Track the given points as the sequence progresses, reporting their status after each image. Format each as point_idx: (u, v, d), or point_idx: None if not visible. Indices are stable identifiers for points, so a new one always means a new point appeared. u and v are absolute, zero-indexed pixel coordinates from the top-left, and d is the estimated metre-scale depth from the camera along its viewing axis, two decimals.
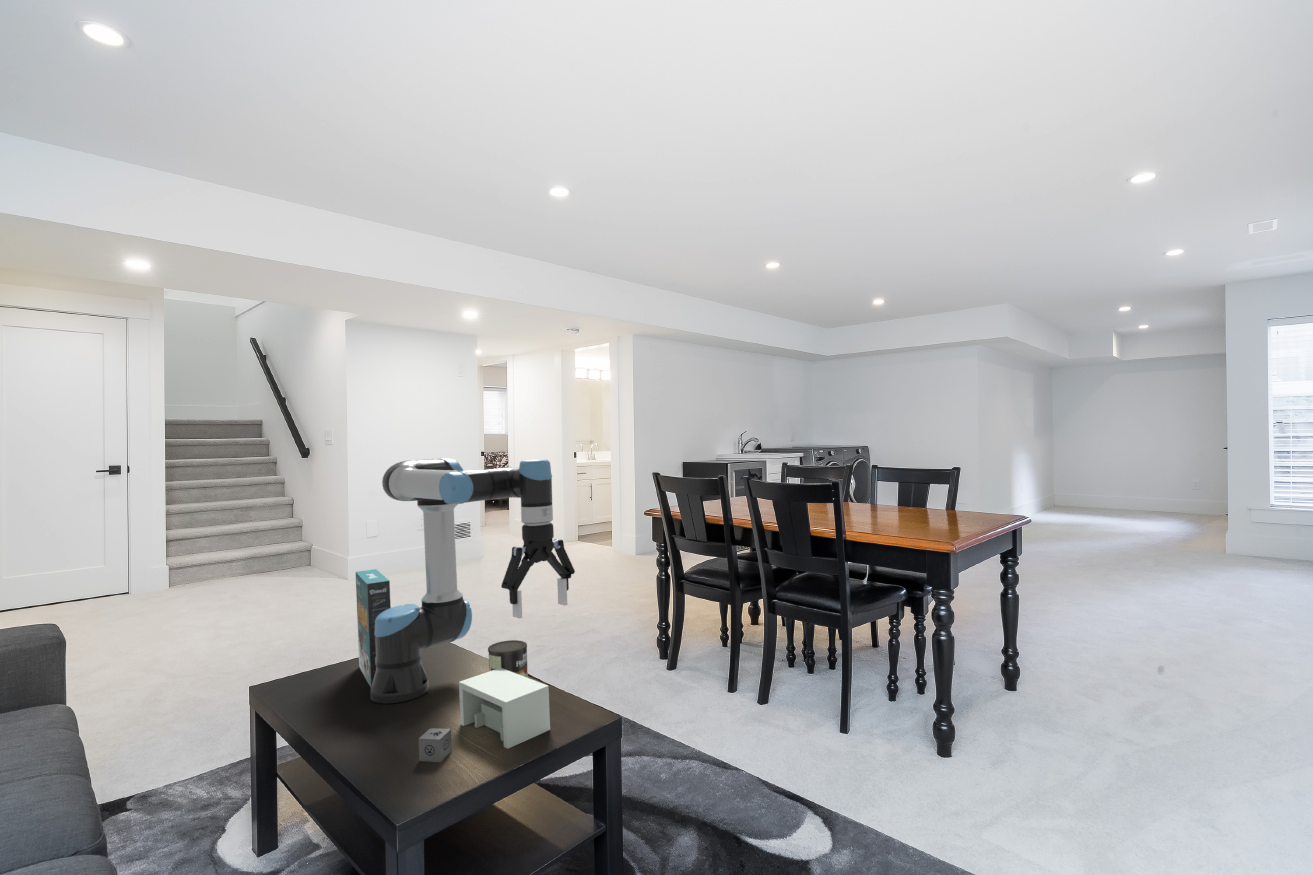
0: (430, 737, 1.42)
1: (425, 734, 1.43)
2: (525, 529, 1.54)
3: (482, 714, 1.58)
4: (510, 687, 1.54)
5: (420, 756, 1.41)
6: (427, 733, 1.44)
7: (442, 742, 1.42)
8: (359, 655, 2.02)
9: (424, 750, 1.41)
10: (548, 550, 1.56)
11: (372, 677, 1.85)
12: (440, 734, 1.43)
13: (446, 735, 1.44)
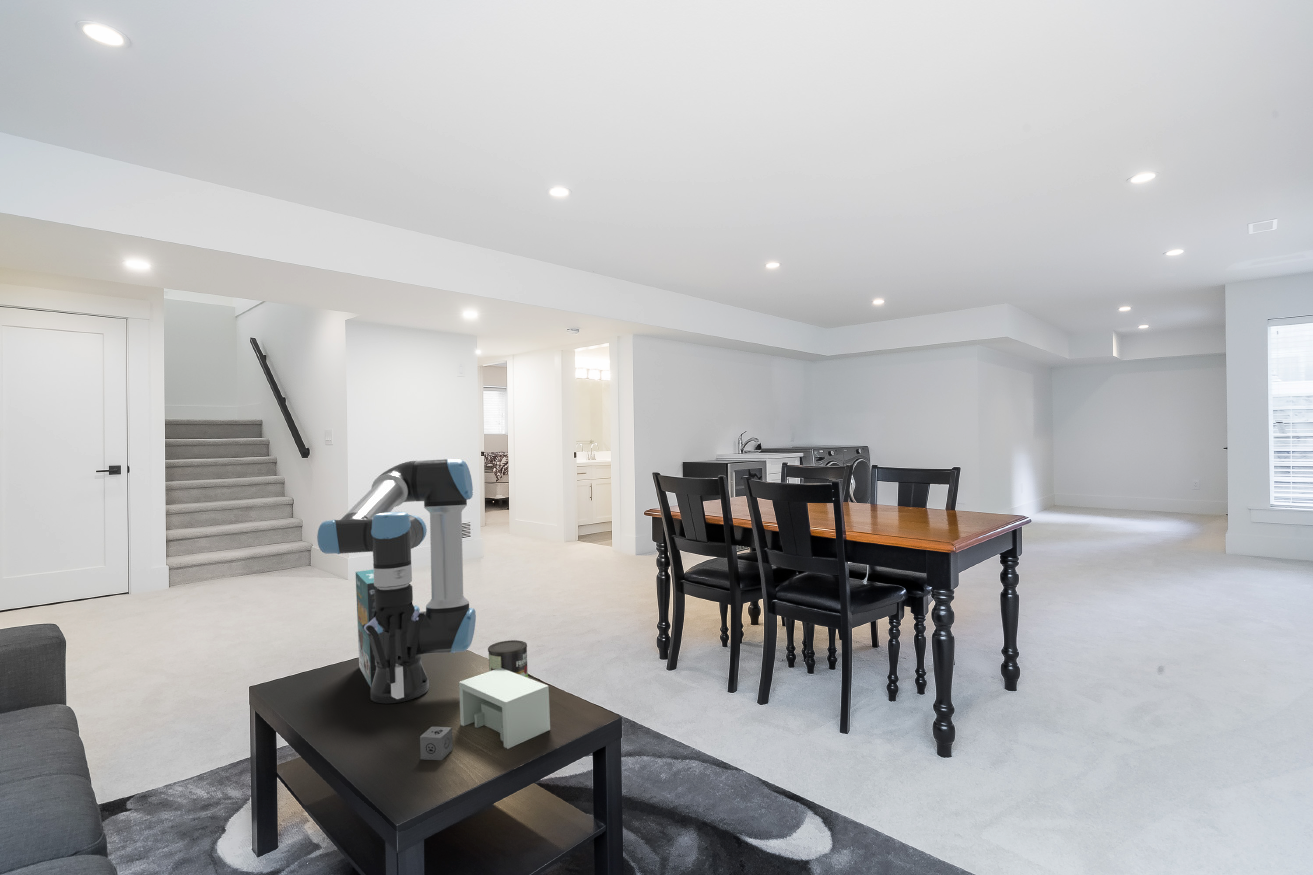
0: (431, 735, 1.43)
1: (426, 732, 1.44)
2: (376, 593, 1.34)
3: (482, 714, 1.58)
4: (510, 687, 1.54)
5: (421, 754, 1.42)
6: (428, 731, 1.45)
7: (443, 740, 1.43)
8: (359, 655, 2.02)
9: (425, 748, 1.42)
10: (405, 616, 1.37)
11: (372, 677, 1.85)
12: (441, 733, 1.44)
13: (447, 733, 1.44)
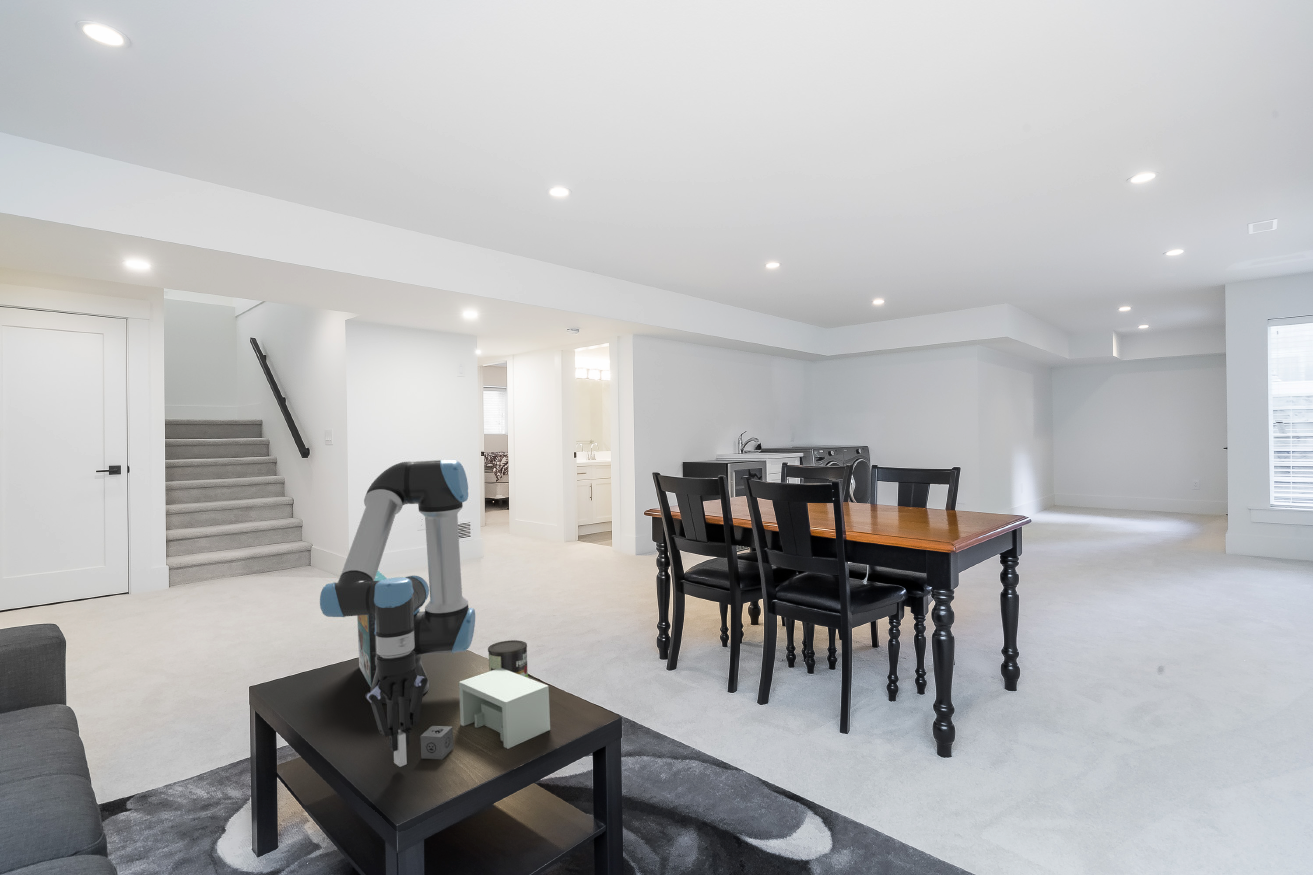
0: (432, 734, 1.43)
1: (427, 732, 1.45)
2: (379, 662, 1.35)
3: (482, 714, 1.58)
4: (510, 687, 1.54)
5: (422, 753, 1.43)
6: (429, 731, 1.45)
7: (444, 739, 1.43)
8: (359, 655, 2.02)
9: (426, 747, 1.43)
10: (408, 683, 1.37)
11: (372, 677, 1.85)
12: (441, 732, 1.44)
13: (448, 733, 1.45)
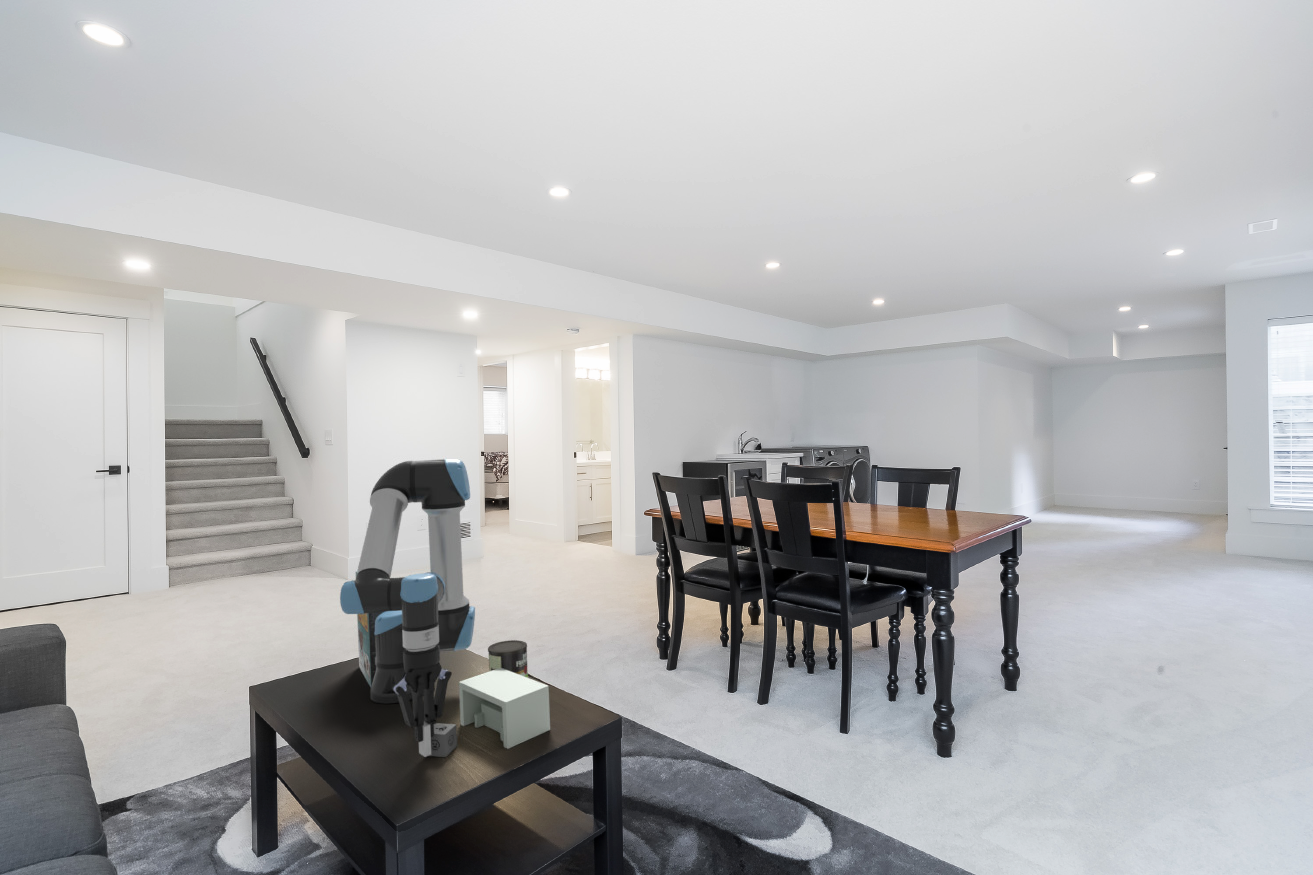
0: (435, 732, 1.44)
1: None
2: (405, 655, 1.39)
3: (482, 714, 1.58)
4: (510, 687, 1.54)
5: None
6: None
7: (447, 737, 1.44)
8: (359, 655, 2.02)
9: None
10: (433, 676, 1.41)
11: (372, 677, 1.85)
12: (445, 729, 1.45)
13: (451, 730, 1.46)
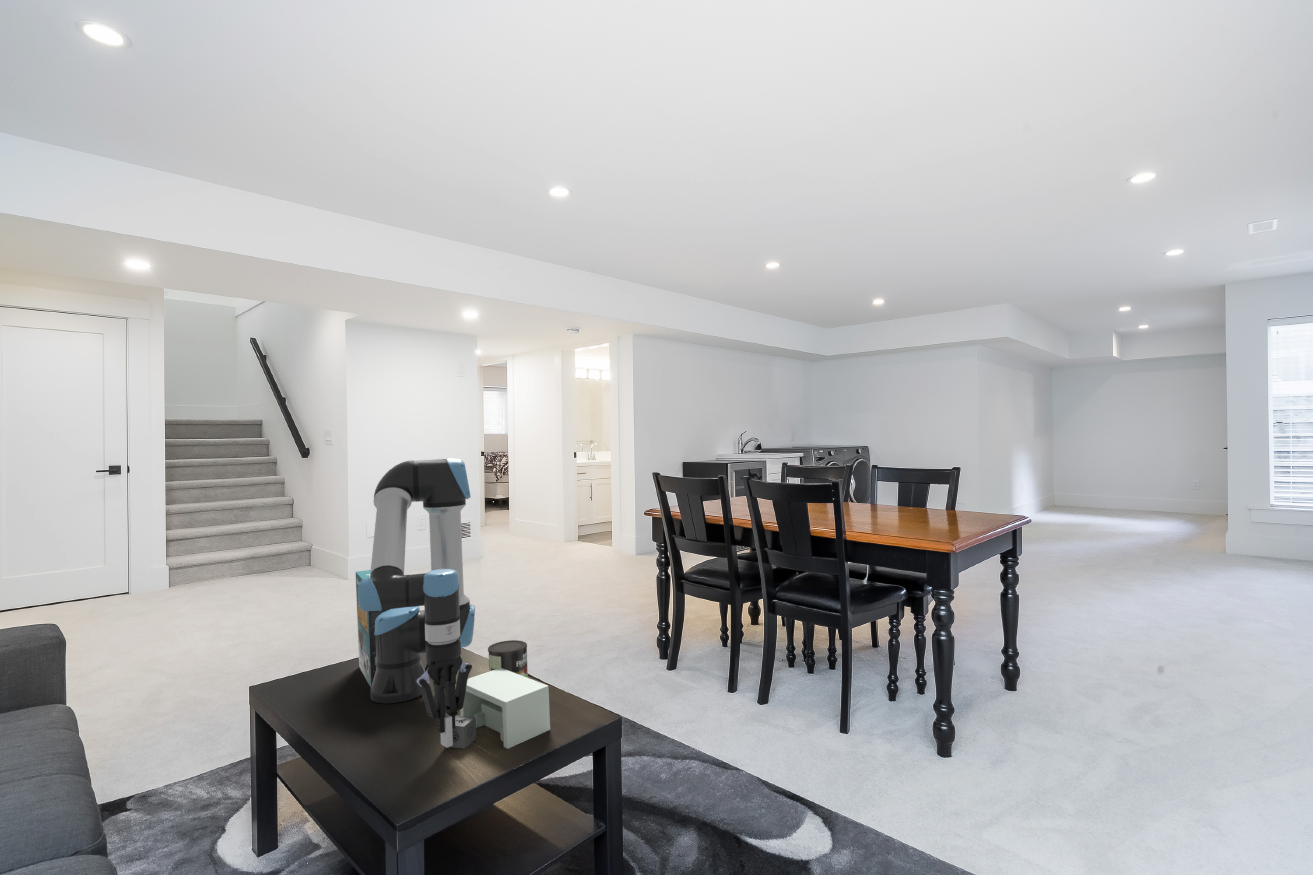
0: (455, 724, 1.48)
1: None
2: (428, 648, 1.43)
3: (482, 714, 1.58)
4: (510, 687, 1.54)
5: None
6: None
7: (466, 729, 1.47)
8: (359, 655, 2.02)
9: None
10: (454, 669, 1.45)
11: (372, 677, 1.85)
12: (464, 722, 1.48)
13: (470, 723, 1.49)
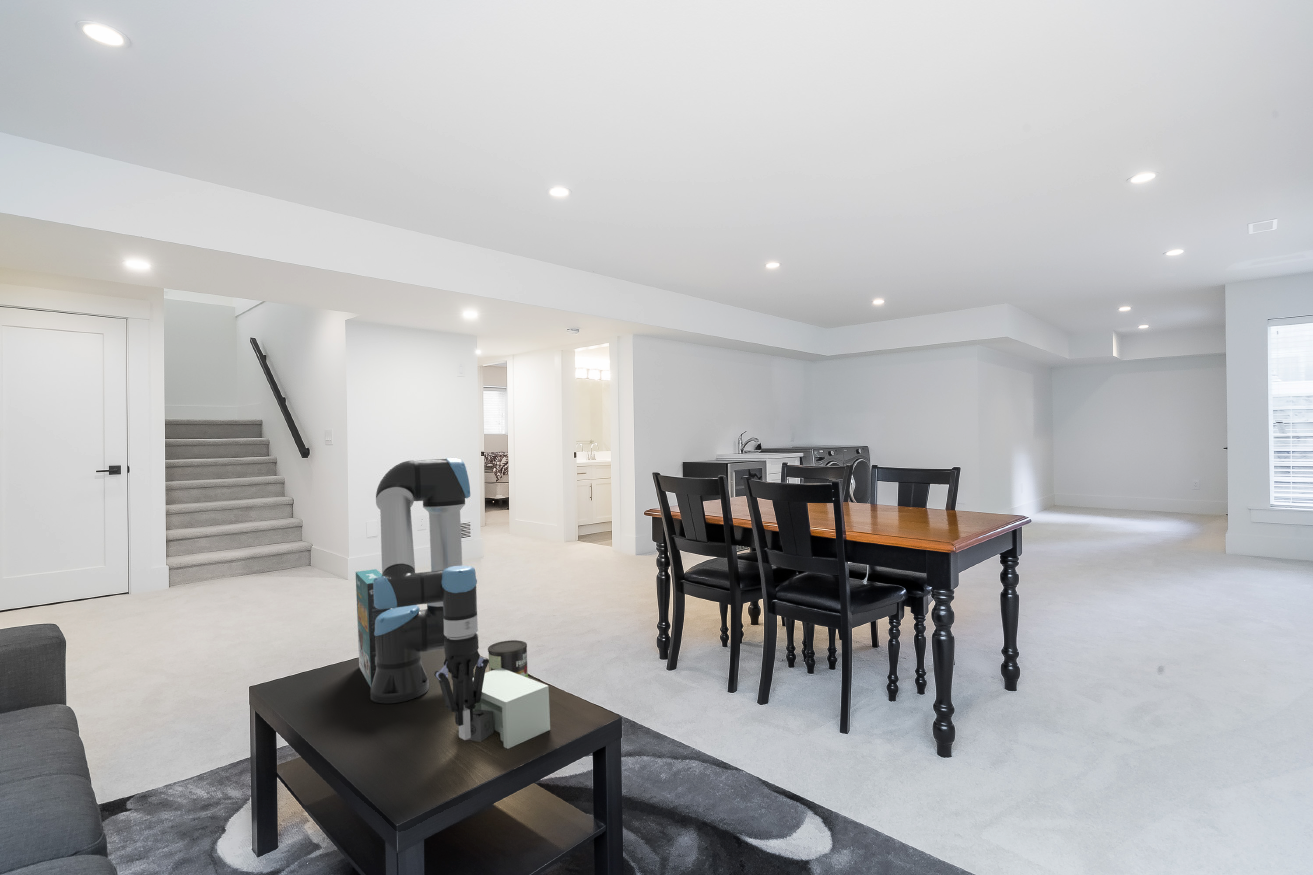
0: None
1: None
2: (446, 643, 1.46)
3: None
4: (510, 687, 1.54)
5: None
6: None
7: (483, 723, 1.50)
8: (359, 655, 2.02)
9: None
10: (472, 663, 1.48)
11: (372, 677, 1.85)
12: (481, 715, 1.52)
13: (487, 717, 1.52)
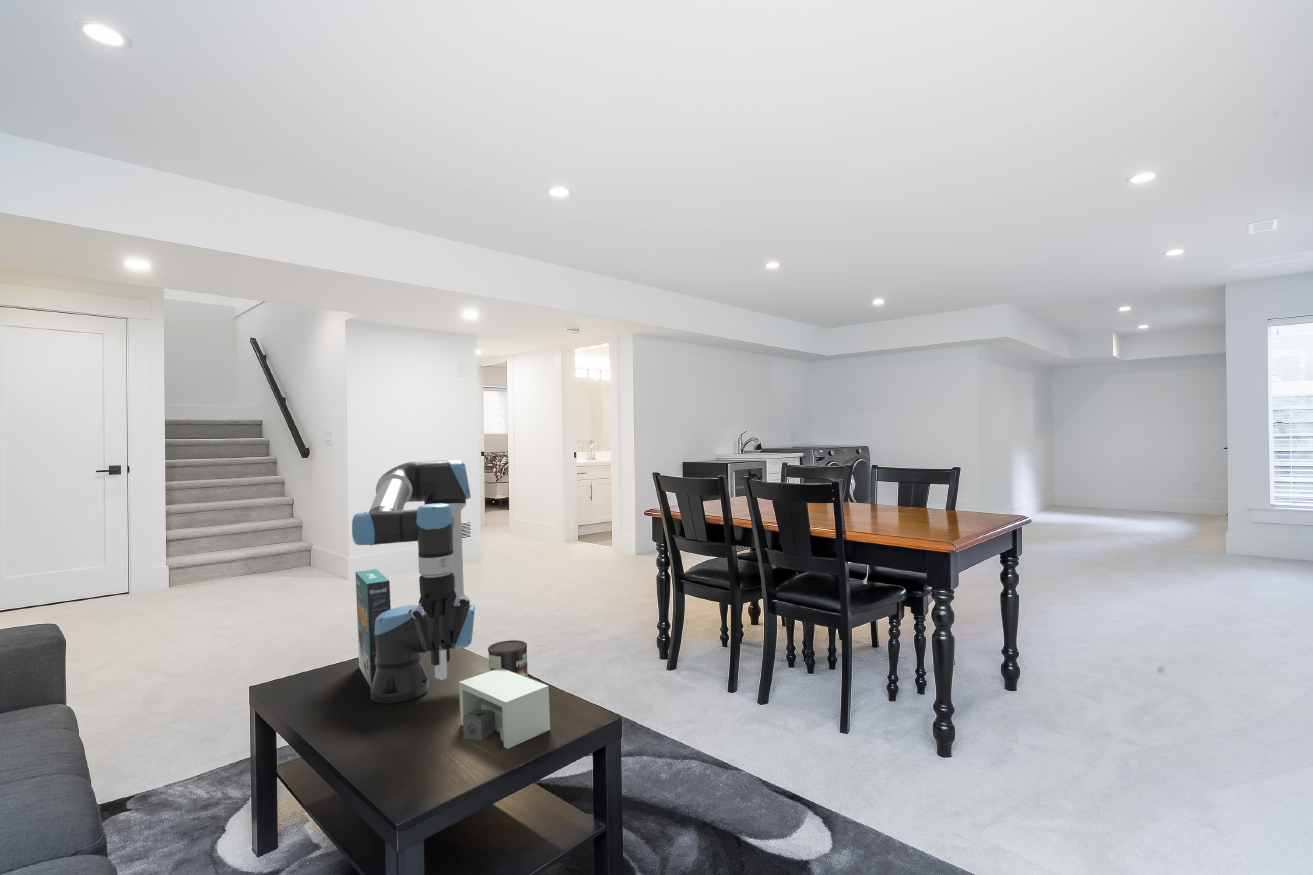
0: (473, 717, 1.51)
1: (469, 714, 1.53)
2: (421, 581, 1.42)
3: None
4: (510, 687, 1.54)
5: (464, 734, 1.51)
6: (471, 713, 1.54)
7: (483, 723, 1.51)
8: (359, 655, 2.02)
9: (467, 729, 1.51)
10: (448, 602, 1.45)
11: (372, 677, 1.85)
12: (482, 715, 1.52)
13: (488, 716, 1.52)
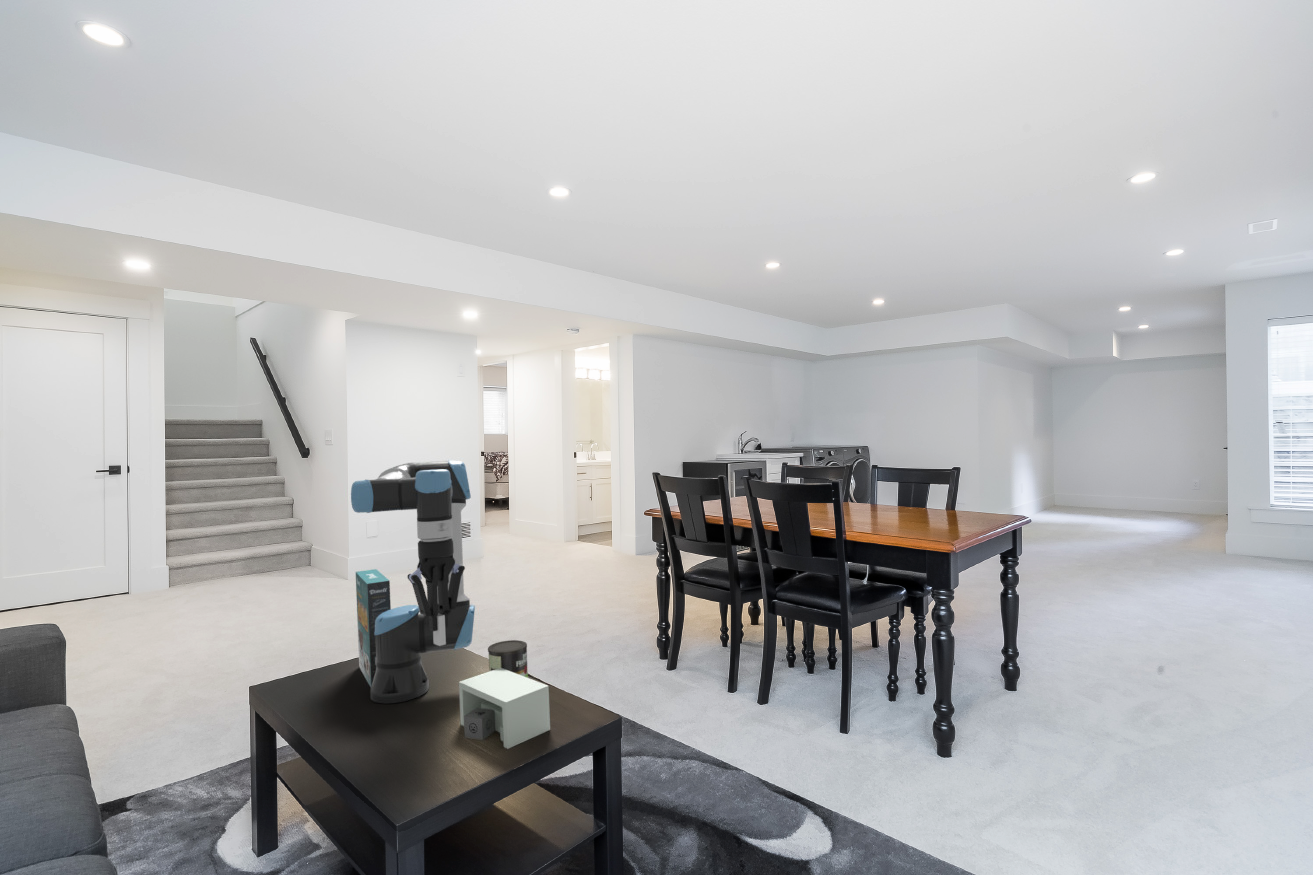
0: (474, 716, 1.52)
1: (471, 713, 1.54)
2: (420, 545, 1.42)
3: None
4: (510, 687, 1.54)
5: (465, 733, 1.52)
6: (473, 712, 1.54)
7: (484, 721, 1.51)
8: (359, 655, 2.02)
9: (468, 727, 1.52)
10: (447, 568, 1.45)
11: (372, 677, 1.85)
12: (483, 714, 1.53)
13: (489, 715, 1.53)
